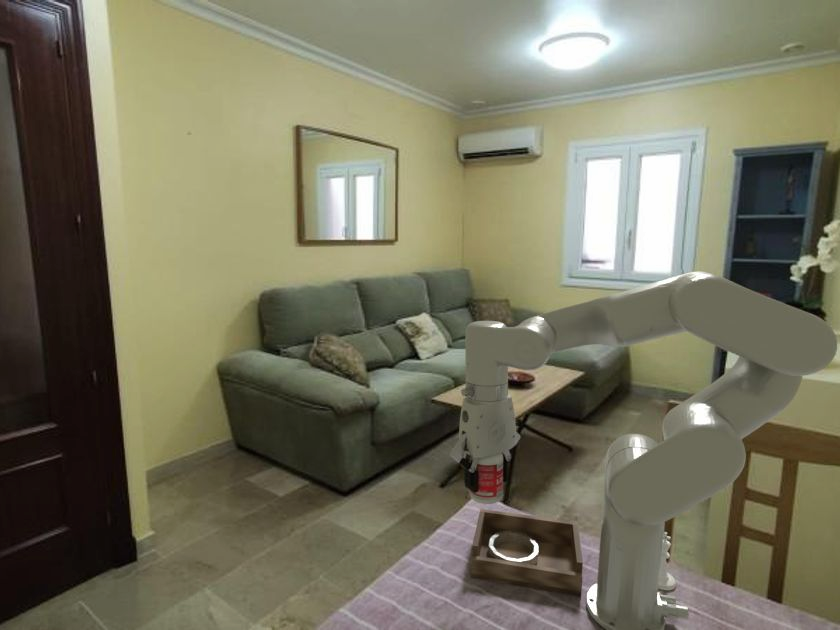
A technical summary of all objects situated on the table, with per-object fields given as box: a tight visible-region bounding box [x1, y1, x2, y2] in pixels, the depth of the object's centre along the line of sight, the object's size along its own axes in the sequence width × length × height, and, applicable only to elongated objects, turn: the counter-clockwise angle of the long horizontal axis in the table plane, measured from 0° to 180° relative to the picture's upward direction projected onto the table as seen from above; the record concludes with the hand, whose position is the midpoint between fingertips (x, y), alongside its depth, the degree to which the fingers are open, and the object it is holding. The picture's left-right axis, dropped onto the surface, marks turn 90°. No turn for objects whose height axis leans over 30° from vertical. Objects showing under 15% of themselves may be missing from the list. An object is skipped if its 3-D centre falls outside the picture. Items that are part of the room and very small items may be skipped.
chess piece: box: [658, 531, 676, 591], centre depth 91 cm, size 5×5×10 cm
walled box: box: [470, 508, 584, 598], centre depth 96 cm, size 20×14×6 cm
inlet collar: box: [489, 531, 538, 565], centre depth 97 cm, size 10×10×2 cm
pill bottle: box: [469, 453, 504, 505], centre depth 89 cm, size 6×6×11 cm
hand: (486, 483), depth 90 cm, fingers closed on pill bottle, 6 cm apart
